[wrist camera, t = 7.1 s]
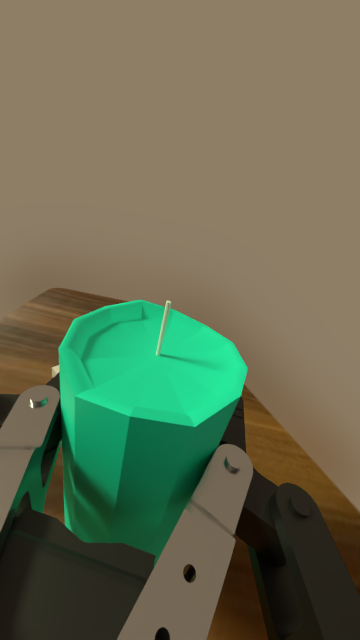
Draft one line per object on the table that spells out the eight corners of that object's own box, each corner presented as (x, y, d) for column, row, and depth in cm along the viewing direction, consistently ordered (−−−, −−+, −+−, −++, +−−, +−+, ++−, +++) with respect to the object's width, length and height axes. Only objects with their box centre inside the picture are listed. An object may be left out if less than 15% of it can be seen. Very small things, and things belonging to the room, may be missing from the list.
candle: (66, 462, 14) (61, 261, 8) (163, 440, 16) (209, 274, 11) (62, 616, 9) (46, 383, 4) (200, 552, 12) (316, 357, 6)
